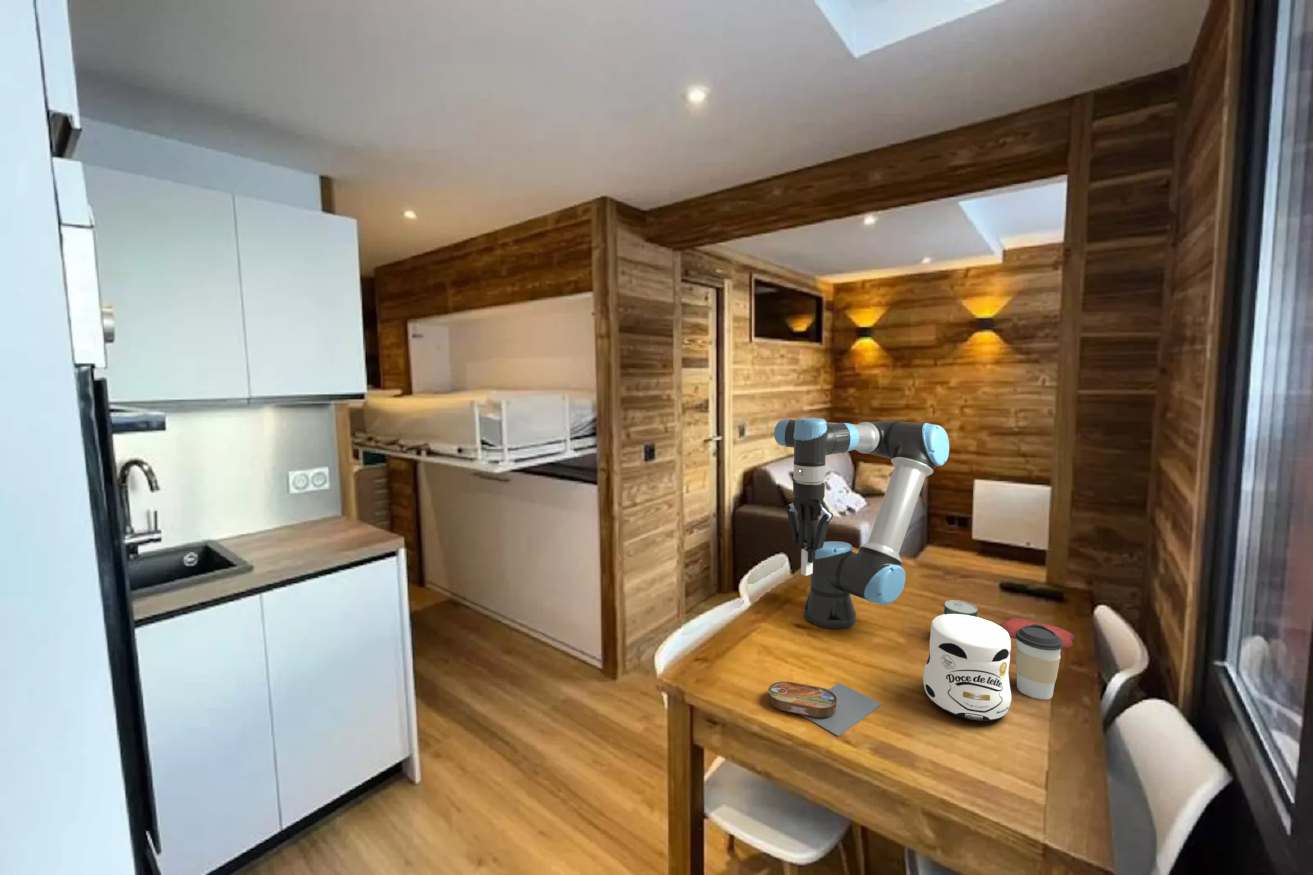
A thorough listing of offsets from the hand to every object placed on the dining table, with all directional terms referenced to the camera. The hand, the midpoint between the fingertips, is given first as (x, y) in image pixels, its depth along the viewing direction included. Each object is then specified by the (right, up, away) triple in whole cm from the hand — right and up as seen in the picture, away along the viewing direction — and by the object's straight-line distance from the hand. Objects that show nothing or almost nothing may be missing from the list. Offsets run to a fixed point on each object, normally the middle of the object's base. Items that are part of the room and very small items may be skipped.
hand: (806, 573), depth 140 cm
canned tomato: (+45, -23, +13) cm, 52 cm away
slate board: (+3, -27, -15) cm, 31 cm away
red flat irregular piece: (+70, -22, +18) cm, 76 cm away
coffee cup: (+51, -25, -9) cm, 58 cm away
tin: (-3, -25, -10) cm, 27 cm away
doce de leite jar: (+32, -26, -14) cm, 43 cm away
